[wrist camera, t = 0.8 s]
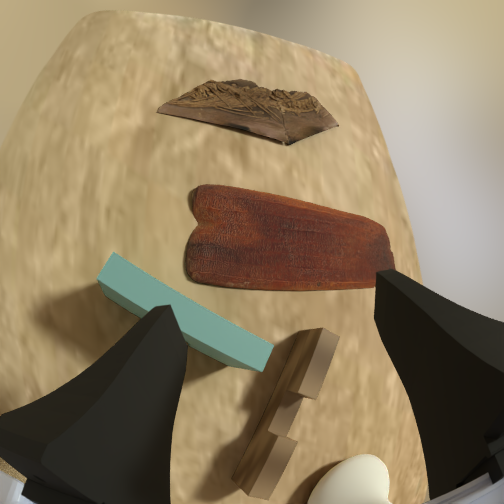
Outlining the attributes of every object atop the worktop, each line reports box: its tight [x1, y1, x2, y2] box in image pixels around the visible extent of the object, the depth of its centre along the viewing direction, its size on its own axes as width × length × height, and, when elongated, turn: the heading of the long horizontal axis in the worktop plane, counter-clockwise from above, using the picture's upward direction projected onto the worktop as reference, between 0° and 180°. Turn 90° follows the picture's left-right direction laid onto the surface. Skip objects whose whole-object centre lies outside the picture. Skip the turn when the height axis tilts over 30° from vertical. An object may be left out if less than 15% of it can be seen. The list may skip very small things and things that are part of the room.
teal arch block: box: [97, 252, 274, 372], centre depth 21 cm, size 12×2×7 cm, turn 65°
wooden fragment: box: [157, 79, 339, 145], centre depth 35 cm, size 26×11×1 cm, turn 103°
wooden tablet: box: [186, 184, 396, 291], centre depth 32 cm, size 27×10×2 cm, turn 92°
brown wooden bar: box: [232, 328, 340, 500], centre depth 23 cm, size 16×2×4 cm, turn 155°
